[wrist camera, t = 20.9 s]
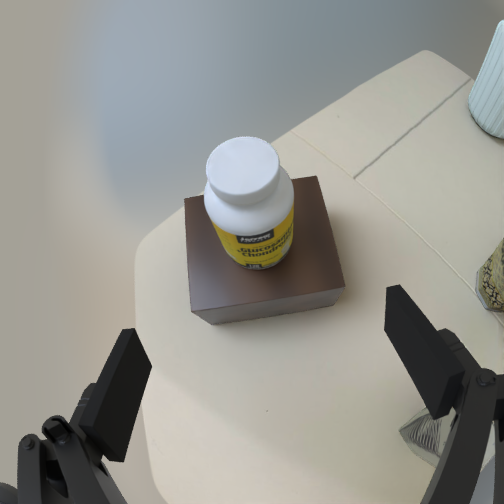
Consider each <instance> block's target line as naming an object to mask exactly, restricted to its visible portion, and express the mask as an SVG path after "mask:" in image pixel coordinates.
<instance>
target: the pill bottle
mask: <svg viewBox="0 0 504 504" xmlns="http://www.w3.org/2000/svg"><path fill="white" fill-rule="evenodd" d="M206 174H207V178H208V182H207V184H206V187H205V191H204V203H205V208H206V211H207V213H208V215H209V217H210V219H211V221H212V223H213V226H214V228H215V230H216V232H217V234H218V236H219V238H220V240H221V242H222V244H223V247H224V249H225V251H226V252H227V254H228V255H229V257H230V258H231V259H232V260H233V261H234V262H235V263H237V264H238V265H240V266H242V267H245V268H249V269H265V268H269V267H271V266H273V265H275V264H277V263H278V262H280V261H281V260H282V259H283V258H284V257H285V256H286V254H287V253H288V251H289V249H290V247H291V244H292V240H293V215H294V189H293V184H292V181H291V179H290V177H289V175H288V173H287V172H286V171H285V170H284V168H283V167H281V166H280V161H279V157H278V154H277V152H276V150H275V149H274V148H273V147H272V146H271V145H270V144H269V143H268V142H266V141H264V140H262V139H259V138H255V137H246V136H245V137H237V138H233V139H230V140H228V141H226V142H224V143H222V144H220V145H219V146H218V147H217V148H216V149H215V150H214V151H213V152H212V153H211V155H210V156H209V158H208V161H207V166H206Z"/></svg>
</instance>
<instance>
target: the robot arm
mask: <svg viewBox="0 0 504 504" xmlns="http://www.w3.org/2000/svg"><path fill="white" fill-rule="evenodd" d="M384 331H385V332H386V334H387V336H388V337H389V339H390V341H391V343H392V344H393V346H394V348H395V350H396V351H397V353H398V355H399V357H400V358H401V360H402V362H403V364H404V366H405V367H406V369H407V371H408V373H409V375H410V377H411V378H412V380H413V382H414V384H415V386H416V388H417V390H418V391H419V393H420V395H421V397H422V399H423V401H424V403H425V405H426V407H427V409H428V411H429V413H430V415H431V417H432V418H433V420H436V419H439V418H442V417H444V416H447V415H449V413H450V410H451V408H452V406H453V408H454V410H455V412H456V414H455V416H454V418H453V420H452V422H451V425H450V427H451V428H450V432H449V435H448V437H447V440H446V443H445V446H444V449H443V452H442V454H441V457H440V459H439V462H438V465H437V467H436V470H435V472H434V474H433V477H432V479H431V481H430V484H429V486H428V488H427V490H426V493H425V495H424V497H423V499H422V501H421V503H420V504H469V503H470V500H471V498H472V495H473V492H474V489H475V486H476V483H477V480H478V477H479V473H480V470H481V467H482V463H483V460H484V456H485V452H486V448H487V444H488V440H489V436H490V431H491V426H492V421H493V420H494V431H495V483H494V500H493V504H504V374H501V375H496V373H494V372H493V371H492V370H489V369H487V368H481V367H480V366H479V364H478V363H477V362H476V360H475V359H474V358H473V356H472V355H471V354H470V352H469V351H468V350H467V349H466V348H465V346H464V345H463V343H462V342H460V340H459V338H458V337H457V336H456V335H455V333H453V332H451V331H450V330H448V329H446V328H445V329H442V330H439V331H437V330H436V329H435V328H434V326H433V325H432V324H431V323H430V321H429V320H428V319H427V317H426V316H425V315H424V314H423V312H422V311H421V310H420V309H419V307H418V306H417V305H416V304H415V302H414V301H413V300H412V299H411V298H410V296H409V295H408V294H407V293H406V291H405V290H404V289H403V288H402V287H401V285H400V284H399V285H395V286H390V287H386V309H385V325H384ZM151 368H152V365H151V363H150V361H149V359H148V356H147V354H146V352H145V350H144V348H143V346H142V343H141V341H140V339H139V337H138V335H137V332H136V330H135V328H131V329H123V330H122V331H121V333H120V335H119V337H118V339H117V341H116V343H115V345H114V347H113V349H112V351H111V353H110V356H109V357H108V359H107V361H106V363H105V365H104V368H103V370H102V372H101V374H100V376H99V378H98V380H97V382H96V383H91V384H90V385H89V386H88V387H87V388H86V389H85V390H84V392H83V394H82V396H81V400H79V403H78V406H77V407H76V409H75V411H74V413H73V415H72V418H71V420H70V422H69V424H68V422H67V421H66V420H65V419H64V417H62V416H60V415H59V416H58V415H56V416H52V417H50V418H49V419H47V420H46V421H45V423H44V424H43V426H42V433H43V434H44V435H45V437H46V438H47V439H46V440H40V439H39V438H38V436H37V435H35V434H28V435H26V436H24V437H23V438H22V439H21V441H20V442H19V446H18V470H17V472H18V473H17V477H18V478H17V480H18V481H17V482H18V483H17V485H18V486H17V488H18V504H127V502H126V501H125V499H124V497H123V496H122V494H121V492H120V491H119V489H118V487H117V486H116V484H115V482H114V480H113V479H112V477H111V475H110V473H109V472H108V470H107V468H106V466H105V464H104V463H103V462H102V461H101V459H102V456H103V455H104V456H105V457H106V458H107V459H108V460H109V461H115V462H124V460H125V456H126V452H127V448H128V445H129V441H130V438H131V434H132V430H133V427H134V423H135V420H136V417H137V413H138V410H139V407H140V404H141V400H142V397H143V394H144V390H145V387H146V384H147V381H148V378H149V375H150V371H151ZM0 504H5V503H2V502H0Z"/></svg>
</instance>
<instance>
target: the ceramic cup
mask: <svg viewBox="0 0 504 504" xmlns="http://www.w3.org/2000/svg"><path fill="white" fill-rule="evenodd" d="M476 293H477V295H478V297H479V298H480V300H481V302H482V304H483V306H484V307H485V309H488V310H492V311H495V312H504V238H503V240H502V241H501V242H500V244H499V245H498V247H497V248H496V250H495V251H494V253H493V254H492V255H491V257H490V258H489V259H488V260H487V261H486V263H485V264H484V265H483V266H482V267H481V268H480V270H479V271H478V272H477V284H476Z"/></svg>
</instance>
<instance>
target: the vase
mask: <svg viewBox="0 0 504 504" xmlns="http://www.w3.org/2000/svg"><path fill="white" fill-rule="evenodd" d="M468 105H469V110H470V112H471V114H472V116H473V118H474V119H475V121H476V122H477V124H478V125H479V126H480V127H481V128H482V129H483V130H484V131H486V132H487V133H489V134H491V135H493V136H495V137H498V138H503V139H504V20H502V21H501V22H500V23H499V24H498V26H497V29H496V31H495V34H494V37H493V40H492V43H491V45H490V47H489V50H488V52H487V55H486V57H485V60H484V62H483V65H482V67H481V69H480V72H479V74H478V76H477V79H476V81H475V83H474V85H473V88H472V90H471V92H470V94H469V97H468Z"/></svg>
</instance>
